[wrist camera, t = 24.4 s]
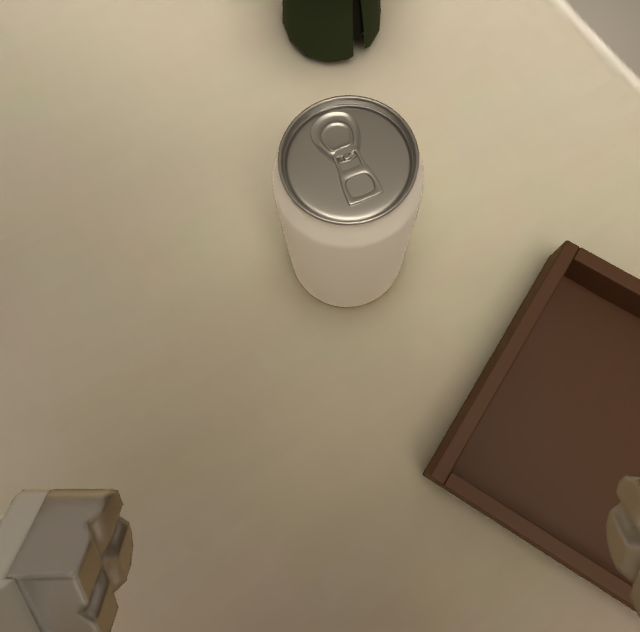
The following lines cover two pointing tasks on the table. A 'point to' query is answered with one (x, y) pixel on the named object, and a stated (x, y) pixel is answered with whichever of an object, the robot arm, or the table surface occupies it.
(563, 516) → the tray
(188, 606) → the table surface
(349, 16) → the character mug
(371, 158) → the can
